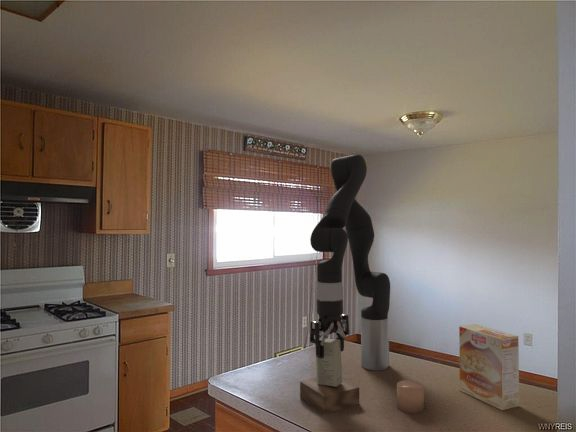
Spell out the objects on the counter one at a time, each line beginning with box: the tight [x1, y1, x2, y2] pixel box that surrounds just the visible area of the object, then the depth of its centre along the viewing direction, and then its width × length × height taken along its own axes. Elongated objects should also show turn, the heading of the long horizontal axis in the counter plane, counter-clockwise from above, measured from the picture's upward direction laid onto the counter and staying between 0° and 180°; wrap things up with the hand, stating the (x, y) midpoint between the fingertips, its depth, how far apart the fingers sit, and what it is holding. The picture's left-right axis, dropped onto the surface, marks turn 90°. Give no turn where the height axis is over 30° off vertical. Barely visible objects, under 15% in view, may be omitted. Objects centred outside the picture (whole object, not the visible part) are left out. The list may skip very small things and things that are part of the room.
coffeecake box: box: [458, 323, 520, 411], centre depth 119 cm, size 15×7×20 cm, turn 23°
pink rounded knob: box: [396, 380, 425, 414], centre depth 113 cm, size 7×7×6 cm
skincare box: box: [314, 338, 343, 387], centre depth 118 cm, size 6×4×12 cm
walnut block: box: [299, 377, 360, 414], centre depth 117 cm, size 12×12×5 cm
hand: (330, 354), depth 118 cm, fingers open, 8 cm apart
